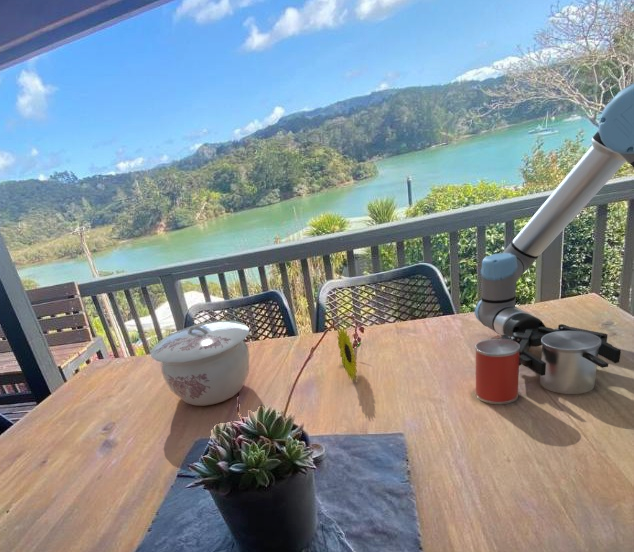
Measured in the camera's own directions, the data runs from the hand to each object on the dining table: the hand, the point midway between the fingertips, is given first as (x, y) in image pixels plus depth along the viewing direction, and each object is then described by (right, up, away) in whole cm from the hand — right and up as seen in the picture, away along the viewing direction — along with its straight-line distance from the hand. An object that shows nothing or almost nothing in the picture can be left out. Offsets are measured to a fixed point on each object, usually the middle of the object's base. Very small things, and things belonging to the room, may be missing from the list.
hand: (580, 363), depth 85 cm
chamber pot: (-73, -9, +38) cm, 83 cm away
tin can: (-12, -7, +7) cm, 16 cm away
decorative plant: (-35, -1, +34) cm, 49 cm away
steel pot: (+1, -5, +3) cm, 6 cm away
